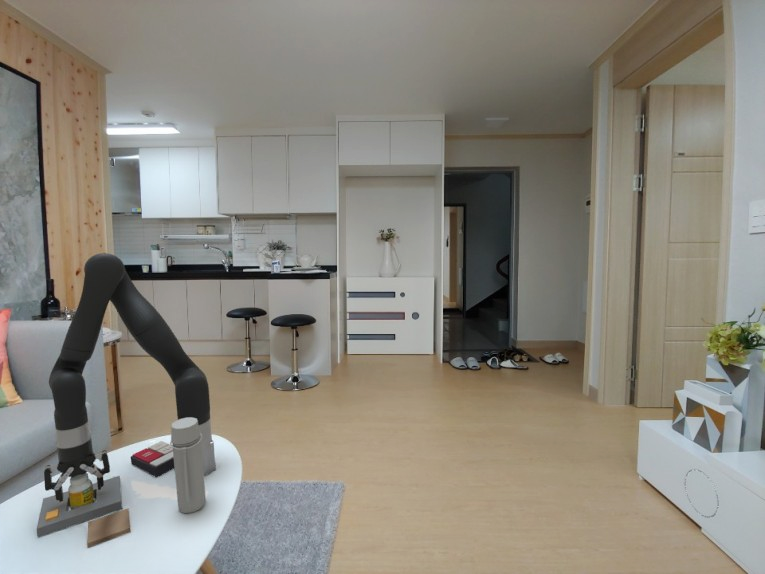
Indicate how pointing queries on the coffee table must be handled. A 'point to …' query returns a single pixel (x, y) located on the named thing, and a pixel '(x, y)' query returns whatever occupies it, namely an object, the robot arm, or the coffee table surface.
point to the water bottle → (188, 464)
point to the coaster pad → (108, 527)
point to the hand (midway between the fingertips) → (80, 494)
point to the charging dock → (79, 508)
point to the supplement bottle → (80, 491)
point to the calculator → (155, 459)
